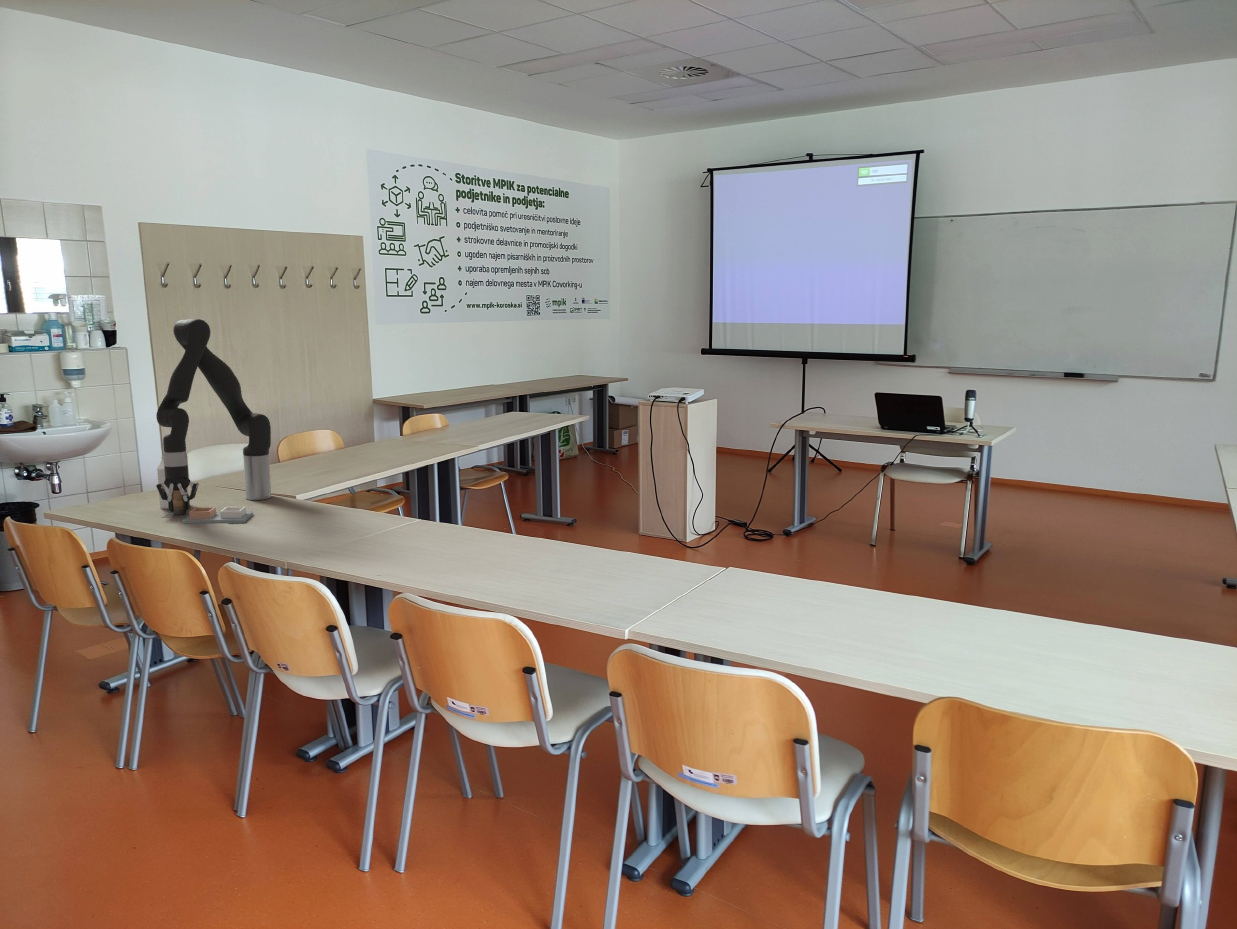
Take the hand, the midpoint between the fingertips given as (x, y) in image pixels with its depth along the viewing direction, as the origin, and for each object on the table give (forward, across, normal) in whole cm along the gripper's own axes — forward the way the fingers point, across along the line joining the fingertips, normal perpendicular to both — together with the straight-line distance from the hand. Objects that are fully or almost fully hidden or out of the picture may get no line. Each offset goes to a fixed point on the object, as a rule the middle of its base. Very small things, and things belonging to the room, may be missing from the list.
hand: (179, 510), depth 302 cm
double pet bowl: (+2, -15, +7) cm, 17 cm away
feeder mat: (+2, 0, 0) cm, 2 cm away
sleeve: (+1, 0, 0) cm, 1 cm away
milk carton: (+2, +6, -13) cm, 14 cm away
